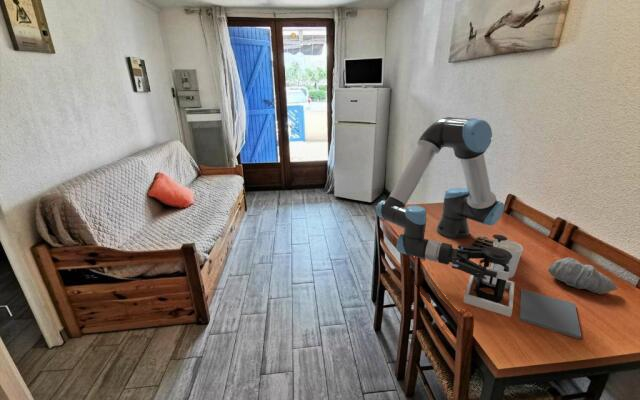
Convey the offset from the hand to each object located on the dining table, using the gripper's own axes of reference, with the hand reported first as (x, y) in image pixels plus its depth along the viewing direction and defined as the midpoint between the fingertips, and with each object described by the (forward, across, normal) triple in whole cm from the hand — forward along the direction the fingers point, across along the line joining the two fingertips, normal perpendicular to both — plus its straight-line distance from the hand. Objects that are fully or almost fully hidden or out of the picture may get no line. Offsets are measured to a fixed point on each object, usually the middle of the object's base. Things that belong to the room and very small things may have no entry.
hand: (509, 268), depth 101 cm
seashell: (+24, -22, -13) cm, 35 cm away
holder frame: (-4, 0, -12) cm, 13 cm away
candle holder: (0, -19, -13) cm, 23 cm away
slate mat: (+13, 0, -12) cm, 18 cm away
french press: (-4, 0, -13) cm, 13 cm away
